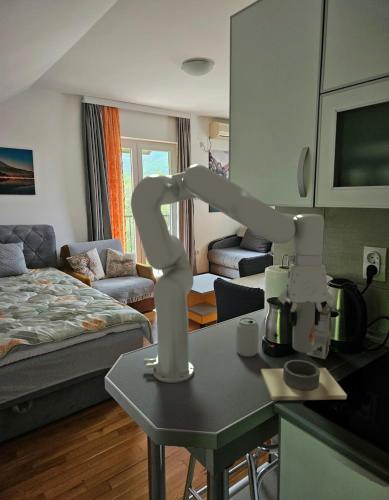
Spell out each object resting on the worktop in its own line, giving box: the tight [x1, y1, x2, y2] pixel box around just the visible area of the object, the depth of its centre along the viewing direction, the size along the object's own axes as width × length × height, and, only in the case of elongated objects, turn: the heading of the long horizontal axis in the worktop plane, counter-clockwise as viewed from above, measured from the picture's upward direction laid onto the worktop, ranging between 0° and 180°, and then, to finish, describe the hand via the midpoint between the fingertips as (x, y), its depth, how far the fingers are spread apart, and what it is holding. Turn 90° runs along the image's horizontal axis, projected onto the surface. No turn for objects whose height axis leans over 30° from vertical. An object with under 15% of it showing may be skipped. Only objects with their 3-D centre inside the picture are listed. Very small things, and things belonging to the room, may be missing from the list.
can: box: [235, 316, 260, 358], centre depth 113 cm, size 8×8×12 cm
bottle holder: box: [260, 359, 348, 401], centre depth 94 cm, size 20×14×5 cm
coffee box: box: [306, 305, 333, 360], centre depth 113 cm, size 9×6×16 cm
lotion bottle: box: [292, 301, 315, 354], centre depth 91 cm, size 6×6×20 cm
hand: (304, 323), depth 92 cm, fingers closed on lotion bottle, 5 cm apart
